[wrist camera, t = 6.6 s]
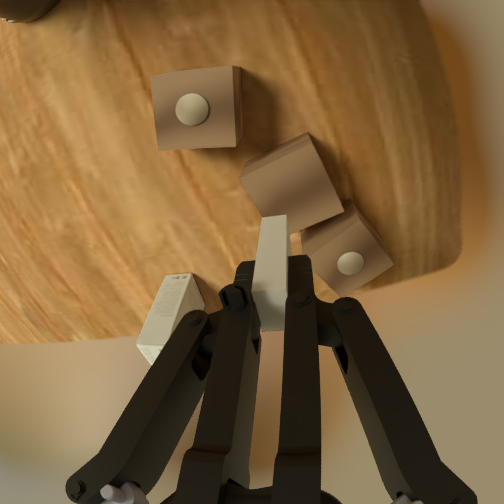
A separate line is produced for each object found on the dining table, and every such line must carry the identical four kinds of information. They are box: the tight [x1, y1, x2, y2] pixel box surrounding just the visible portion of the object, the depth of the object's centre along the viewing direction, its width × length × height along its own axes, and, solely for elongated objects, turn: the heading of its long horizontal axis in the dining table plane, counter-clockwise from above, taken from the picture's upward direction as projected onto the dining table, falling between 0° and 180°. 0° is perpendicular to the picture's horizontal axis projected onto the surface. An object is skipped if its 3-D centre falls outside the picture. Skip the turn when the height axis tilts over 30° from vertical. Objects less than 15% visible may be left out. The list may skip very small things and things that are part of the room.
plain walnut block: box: [239, 132, 344, 235], centre depth 27 cm, size 7×7×5 cm
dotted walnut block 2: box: [301, 199, 394, 298], centre depth 31 cm, size 7×7×5 cm
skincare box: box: [136, 273, 205, 365], centre depth 35 cm, size 6×4×12 cm
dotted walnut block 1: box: [150, 66, 244, 151], centre depth 24 cm, size 7×7×5 cm
